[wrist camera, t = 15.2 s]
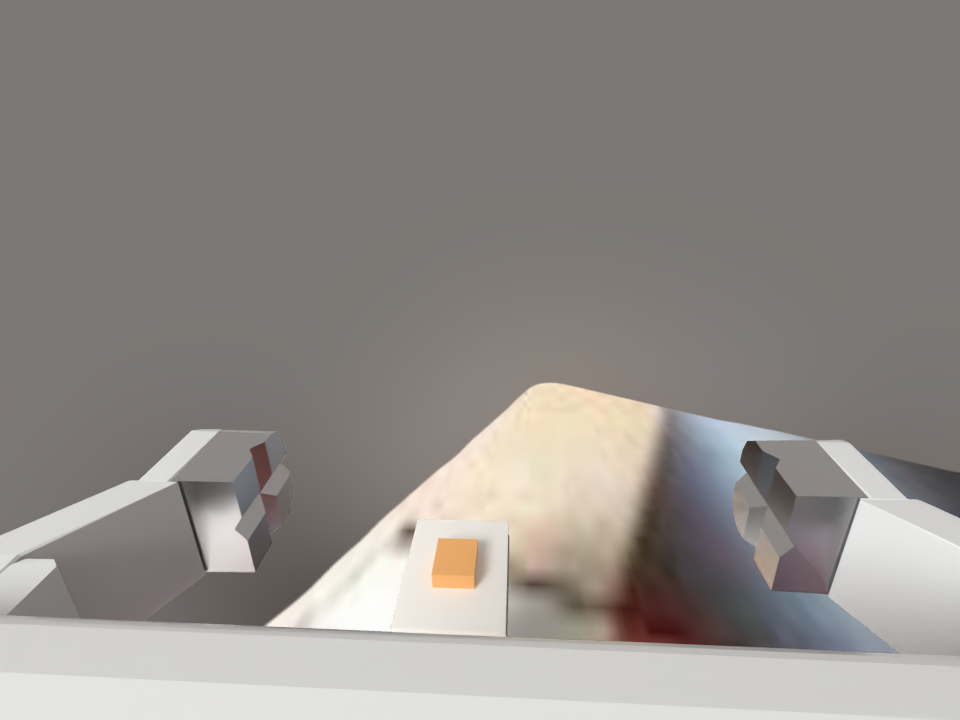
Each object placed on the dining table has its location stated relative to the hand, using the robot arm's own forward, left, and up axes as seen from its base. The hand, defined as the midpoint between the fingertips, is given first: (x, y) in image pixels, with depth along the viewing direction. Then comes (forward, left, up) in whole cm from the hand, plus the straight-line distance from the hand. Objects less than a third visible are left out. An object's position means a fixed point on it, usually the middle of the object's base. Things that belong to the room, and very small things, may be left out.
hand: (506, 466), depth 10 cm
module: (-6, -10, -28) cm, 31 cm away
